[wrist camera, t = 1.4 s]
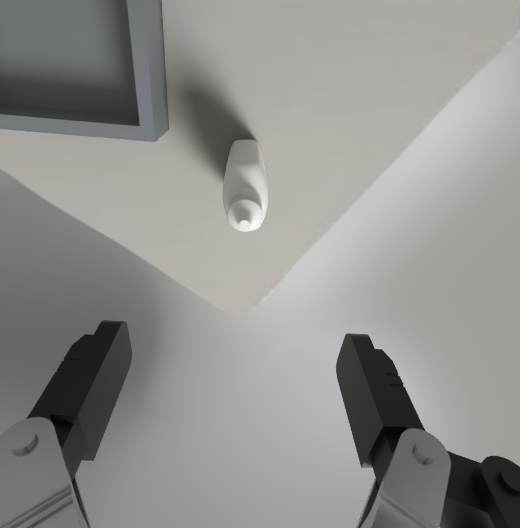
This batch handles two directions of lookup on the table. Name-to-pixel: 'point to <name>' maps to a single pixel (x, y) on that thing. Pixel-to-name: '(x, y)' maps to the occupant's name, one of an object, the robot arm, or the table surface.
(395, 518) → the robot arm
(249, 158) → the eye dropper bottle
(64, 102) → the box
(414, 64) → the table surface
